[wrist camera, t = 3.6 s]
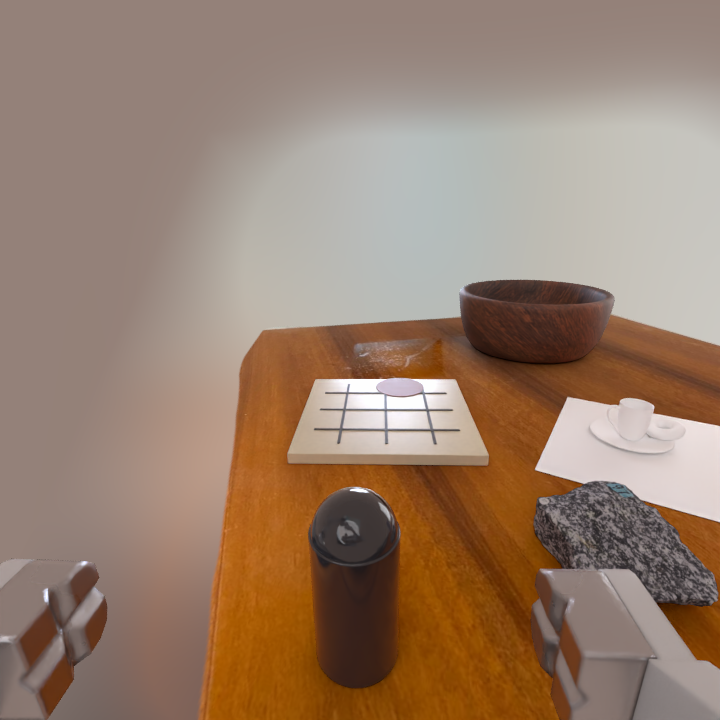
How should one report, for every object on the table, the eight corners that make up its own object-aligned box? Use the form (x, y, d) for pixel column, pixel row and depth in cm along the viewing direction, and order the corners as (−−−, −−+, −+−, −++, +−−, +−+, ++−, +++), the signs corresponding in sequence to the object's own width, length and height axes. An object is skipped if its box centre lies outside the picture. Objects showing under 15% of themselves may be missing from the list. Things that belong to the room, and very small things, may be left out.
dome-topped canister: (310, 687, 23) (297, 527, 20) (321, 609, 28) (313, 468, 24) (400, 690, 23) (403, 529, 19) (396, 611, 27) (399, 469, 24)
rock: (599, 637, 26) (612, 582, 24) (524, 520, 35) (530, 476, 34) (720, 626, 26) (739, 571, 25) (614, 514, 36) (623, 470, 34)
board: (287, 463, 44) (286, 452, 43) (316, 386, 63) (315, 377, 62) (488, 465, 43) (489, 454, 42) (454, 386, 62) (455, 378, 61)
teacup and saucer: (681, 433, 48) (690, 399, 47) (685, 468, 42) (695, 430, 40) (593, 415, 52) (598, 384, 51) (584, 443, 46) (590, 409, 45)
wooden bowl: (500, 322, 95) (504, 275, 92) (625, 346, 78) (636, 289, 75) (429, 347, 79) (431, 291, 76) (567, 383, 62) (578, 313, 58)
